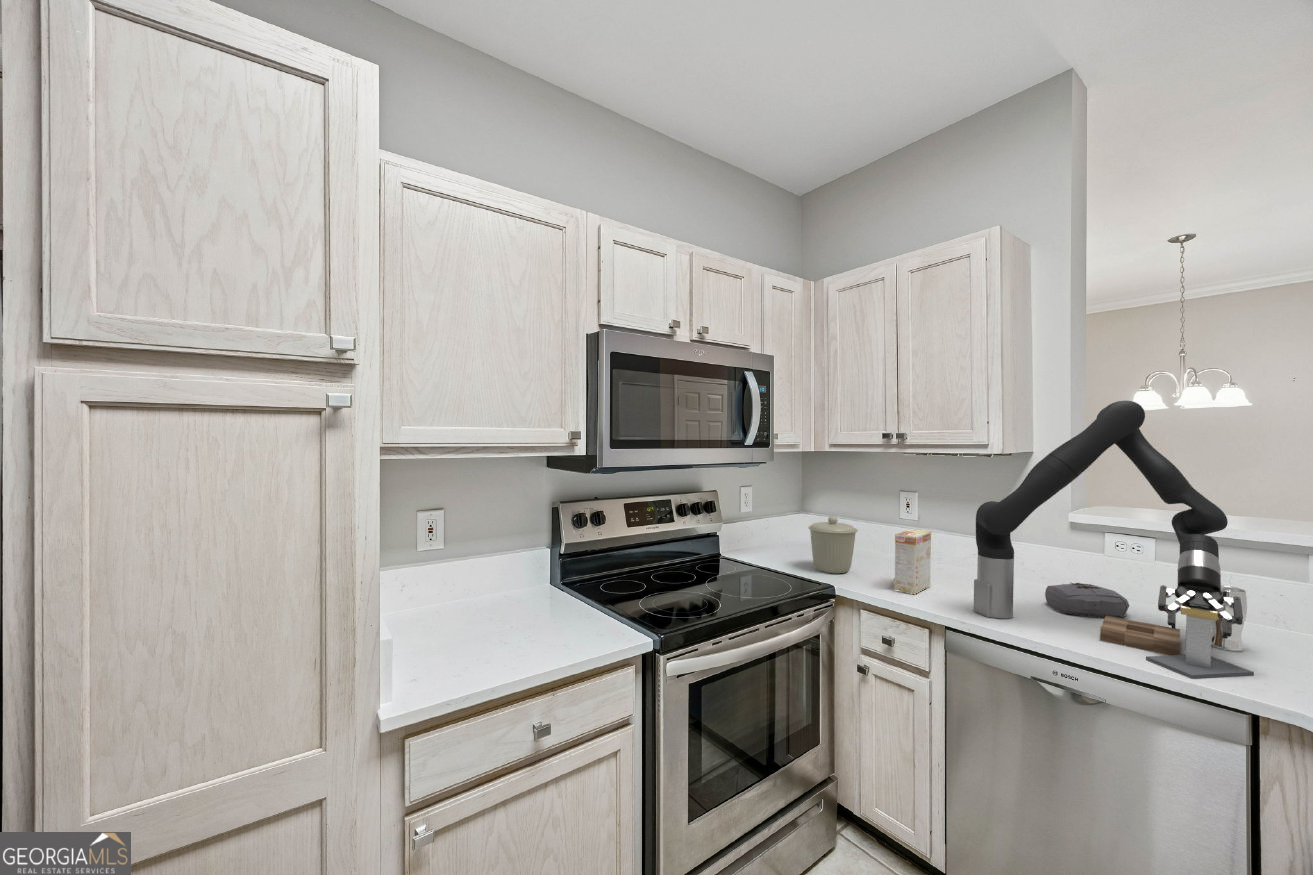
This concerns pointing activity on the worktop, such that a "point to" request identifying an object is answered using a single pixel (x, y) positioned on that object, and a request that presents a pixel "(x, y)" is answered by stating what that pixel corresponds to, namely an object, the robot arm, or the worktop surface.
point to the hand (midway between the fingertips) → (1198, 631)
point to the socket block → (1141, 635)
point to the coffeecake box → (912, 560)
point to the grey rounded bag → (1086, 600)
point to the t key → (1198, 635)
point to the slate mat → (1191, 671)
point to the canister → (832, 545)
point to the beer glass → (1217, 629)
